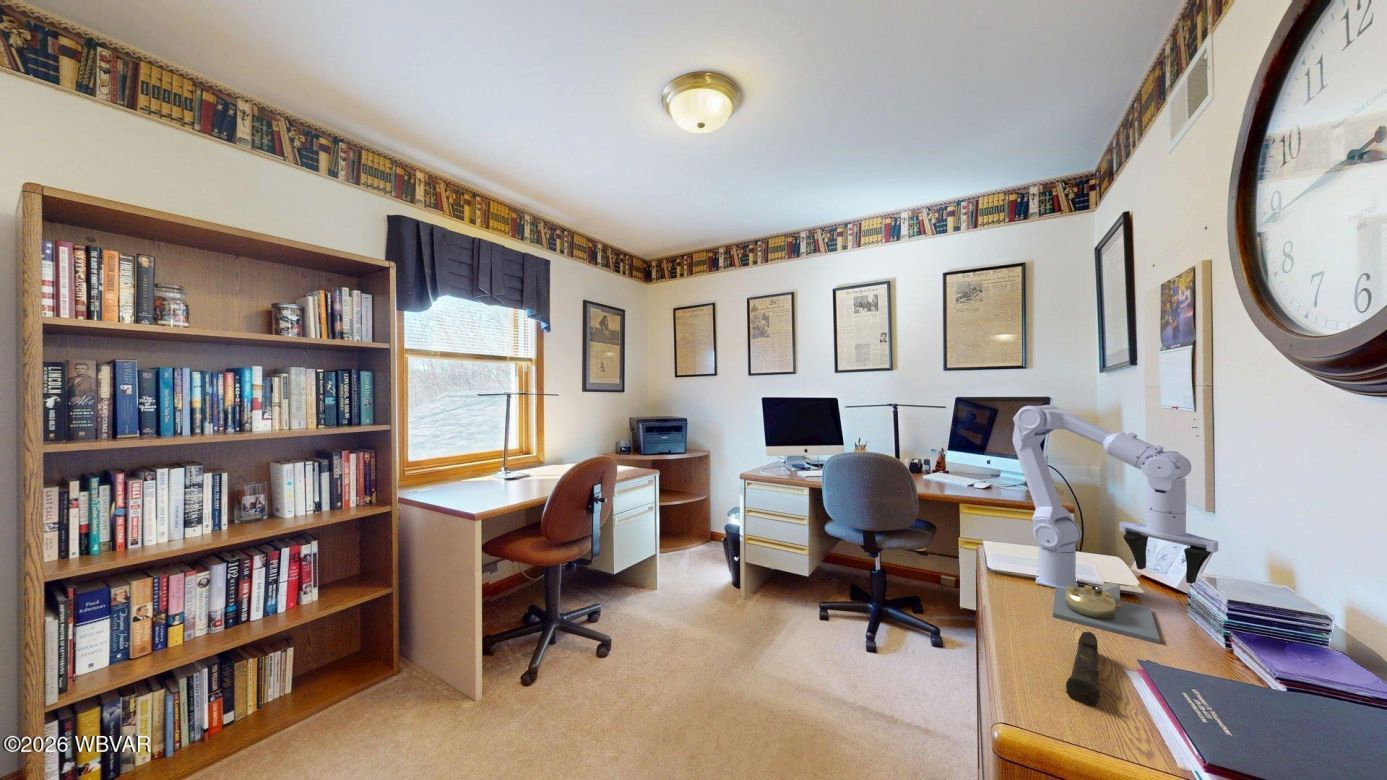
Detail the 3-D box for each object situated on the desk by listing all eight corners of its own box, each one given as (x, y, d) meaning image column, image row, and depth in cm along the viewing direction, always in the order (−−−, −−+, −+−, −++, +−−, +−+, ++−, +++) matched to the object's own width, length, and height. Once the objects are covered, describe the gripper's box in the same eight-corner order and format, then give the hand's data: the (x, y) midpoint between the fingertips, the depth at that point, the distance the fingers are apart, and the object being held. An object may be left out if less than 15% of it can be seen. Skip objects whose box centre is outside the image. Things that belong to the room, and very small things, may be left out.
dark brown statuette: (1099, 712, 70) (1099, 682, 70) (1065, 699, 73) (1066, 670, 73) (1109, 659, 83) (1110, 634, 83) (1081, 650, 86) (1081, 625, 86)
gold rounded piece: (1102, 622, 93) (1102, 602, 93) (1057, 604, 100) (1057, 586, 100) (1138, 607, 99) (1138, 589, 99) (1093, 592, 106) (1093, 575, 106)
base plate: (1055, 590, 110) (1055, 586, 110) (1149, 611, 100) (1149, 607, 100) (1053, 616, 98) (1053, 612, 98) (1159, 643, 87) (1159, 639, 87)
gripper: (1225, 516, 91) (1224, 585, 91) (1130, 500, 104) (1130, 559, 104) (1209, 521, 88) (1209, 592, 88) (1114, 503, 101) (1114, 565, 101)
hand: (1165, 575), depth 96 cm, fingers open, 7 cm apart
